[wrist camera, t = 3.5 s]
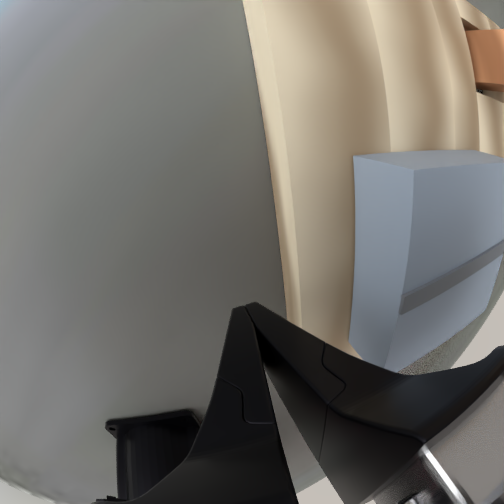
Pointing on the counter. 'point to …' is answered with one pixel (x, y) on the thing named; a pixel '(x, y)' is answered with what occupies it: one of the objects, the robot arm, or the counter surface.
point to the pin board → (356, 123)
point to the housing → (423, 249)
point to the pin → (487, 58)
